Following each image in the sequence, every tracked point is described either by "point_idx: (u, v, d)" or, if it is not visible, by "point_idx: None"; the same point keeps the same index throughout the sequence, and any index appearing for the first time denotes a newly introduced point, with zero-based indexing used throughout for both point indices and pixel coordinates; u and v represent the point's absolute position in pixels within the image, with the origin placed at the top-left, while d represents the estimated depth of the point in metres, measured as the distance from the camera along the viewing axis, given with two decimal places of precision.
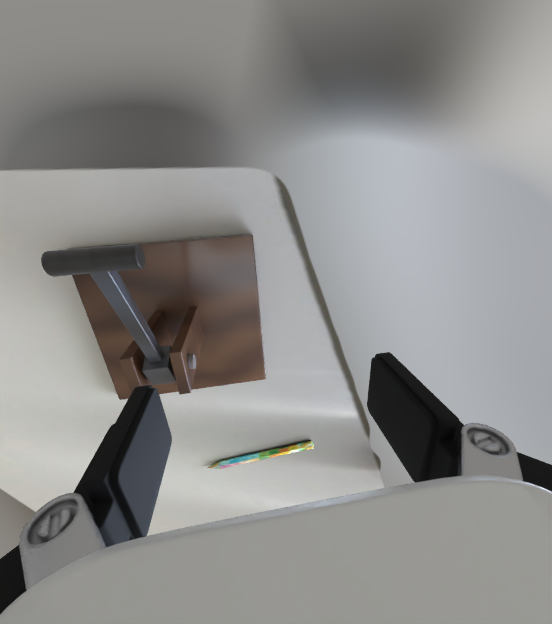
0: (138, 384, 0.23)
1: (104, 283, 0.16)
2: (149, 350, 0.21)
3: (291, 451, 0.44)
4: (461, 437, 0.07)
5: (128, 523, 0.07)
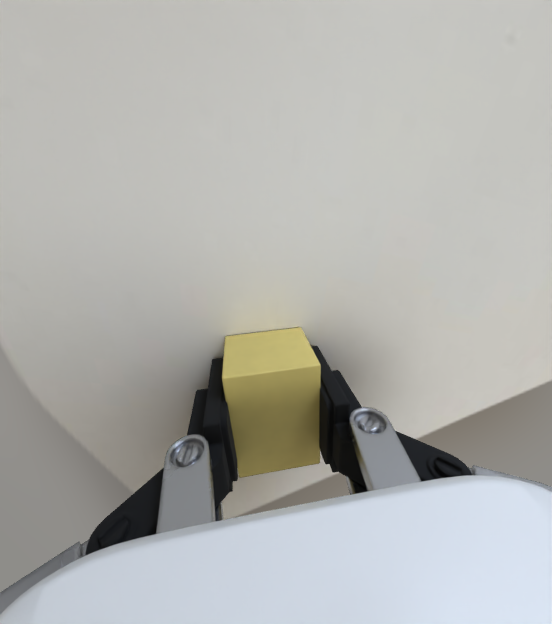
0: None
1: None
2: None
3: None
4: (352, 428, 0.08)
5: (229, 465, 0.09)
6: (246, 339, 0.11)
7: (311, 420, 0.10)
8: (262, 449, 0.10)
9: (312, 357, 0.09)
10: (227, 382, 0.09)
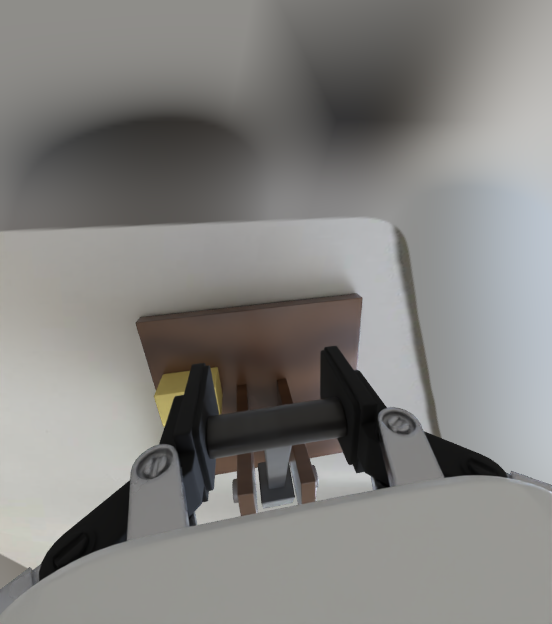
0: None
1: (277, 451, 0.10)
2: (278, 483, 0.16)
3: None
4: (379, 426, 0.08)
5: (203, 475, 0.09)
6: (218, 378, 0.24)
7: None
8: None
9: (221, 412, 0.23)
10: None
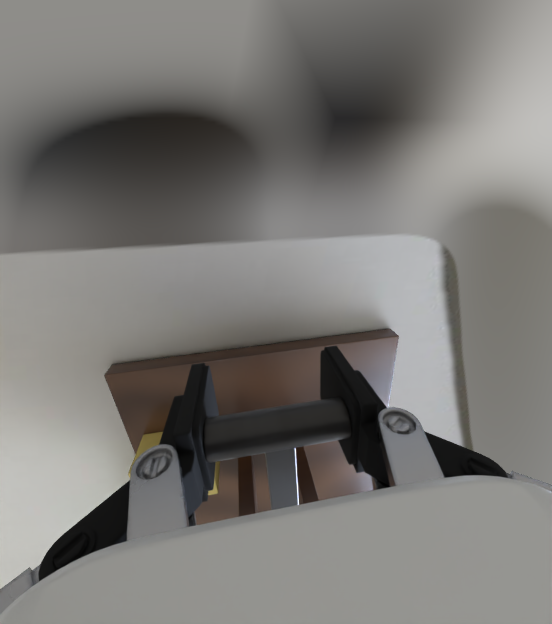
0: None
1: (280, 468, 0.09)
2: None
3: None
4: (380, 426, 0.08)
5: (202, 475, 0.09)
6: None
7: None
8: None
9: (218, 485, 0.18)
10: None
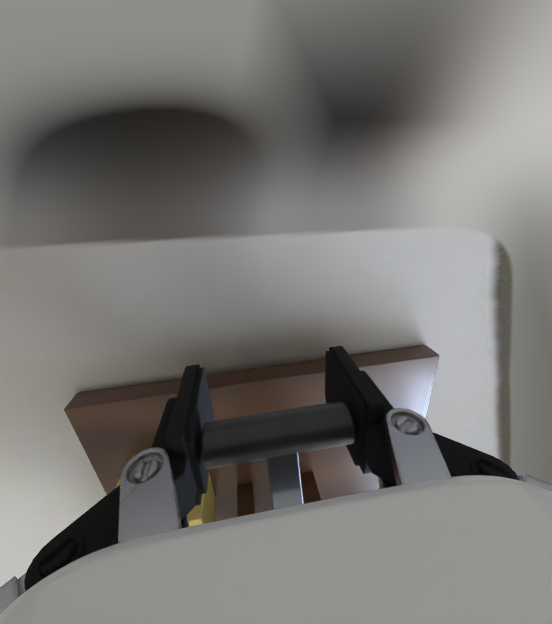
0: None
1: (283, 481, 0.09)
2: None
3: None
4: (387, 426, 0.08)
5: (195, 478, 0.08)
6: (209, 481, 0.15)
7: None
8: None
9: None
10: (197, 521, 0.13)
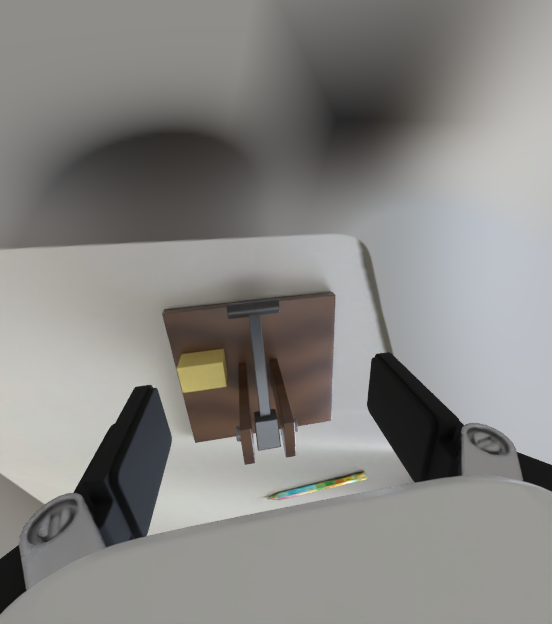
0: (252, 450, 0.24)
1: (254, 323, 0.25)
2: (264, 398, 0.25)
3: (346, 482, 0.46)
4: (461, 437, 0.07)
5: (128, 523, 0.07)
6: (224, 357, 0.31)
7: (204, 387, 0.30)
8: (191, 374, 0.29)
9: (226, 383, 0.31)
10: (220, 363, 0.29)
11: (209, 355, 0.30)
